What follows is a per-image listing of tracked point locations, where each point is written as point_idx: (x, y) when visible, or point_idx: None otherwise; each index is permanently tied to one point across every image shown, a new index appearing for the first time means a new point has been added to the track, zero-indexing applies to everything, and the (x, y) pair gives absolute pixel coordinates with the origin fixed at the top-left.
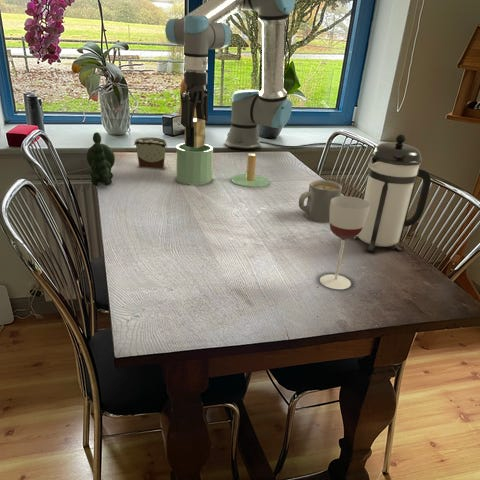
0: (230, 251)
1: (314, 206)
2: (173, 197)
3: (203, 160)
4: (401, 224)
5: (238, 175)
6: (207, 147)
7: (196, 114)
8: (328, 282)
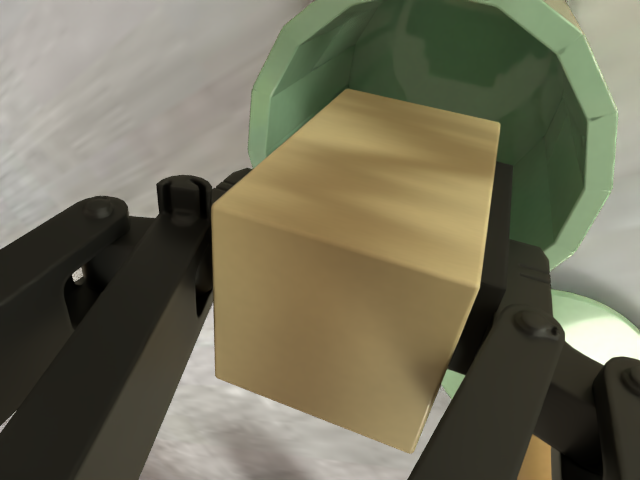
0: None
1: None
2: (152, 103)
3: None
4: None
5: (595, 320)
6: (539, 244)
7: (454, 398)
8: None
